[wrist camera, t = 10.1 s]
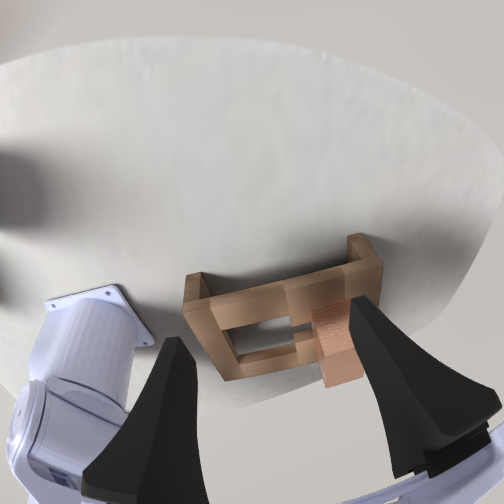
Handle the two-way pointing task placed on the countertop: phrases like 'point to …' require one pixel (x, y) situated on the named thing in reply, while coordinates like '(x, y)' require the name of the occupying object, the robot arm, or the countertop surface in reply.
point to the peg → (335, 344)
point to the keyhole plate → (277, 311)
